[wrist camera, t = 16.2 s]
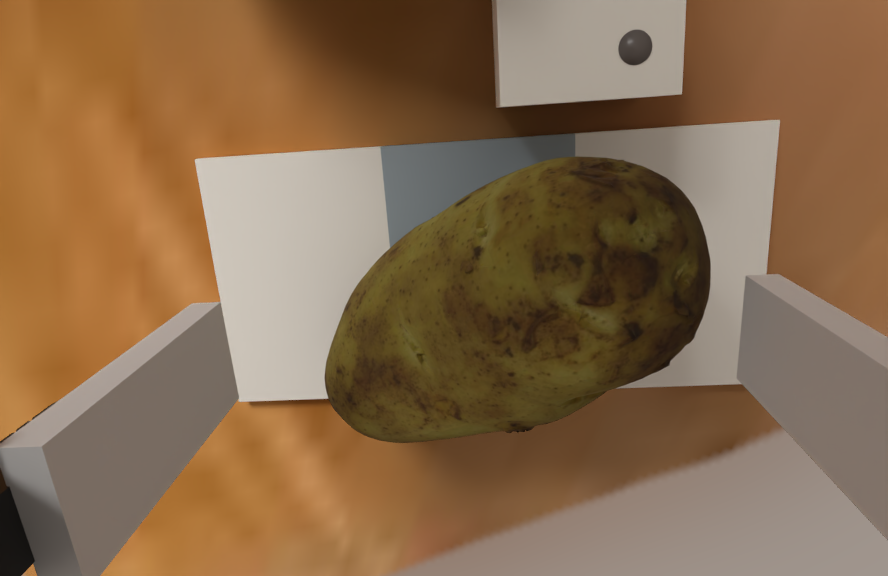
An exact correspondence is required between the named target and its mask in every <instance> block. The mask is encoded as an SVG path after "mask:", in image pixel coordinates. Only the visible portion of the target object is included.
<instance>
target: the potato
mask: <svg viewBox="0 0 888 576" xmlns="http://www.w3.org/2000/svg"><path fill="white" fill-rule="evenodd" d="M710 278H711V262H710V255H709V250H708V245H707V240H706V236H705V233H704V230H703V226H702V223H701V221H700V219H699V216H698V214H697V212H696V209H695V207H694V206H693V204H692V203H691V202H690V200H689V199H688V198H687V196H686V195H685V194H684V193H683V192H682V190H681V189H679V188H678V187H677V186H676V185H675V184H674V183H673V182H671V181H670V180H669V179H668V178H666V177H664V176H662V175H660V174H658V173H656V172H654V171H652V170H650V169H648V168H646V167H644V166H641V165H637V164H634V163H630V162H627V161H624V160H616V159H611V158H602V157H579V156H576V157H562V158H555V159H550V160H546V161H543V162H539V163H536V164H533V165H531V166H528V167H525V168H522V169H519V170H517V171H515V172H512V173H510V174H508V175H505V176H503V177H501V178H499V179H497V180H495V181H492V182H490V183H488V184H486V185H485V186H483V187H481V188H479V189H477V190H475V191H473V192H472V193H470V194H468V195H466V196H464V197H463V198H461V199H460V200H458V201H457V202H455V203H454V204H452V205H451V206H450V207H448V208H447V209H445V210H444V211H442V212H441V213H439V214H438V215H436V216H435V217H432V218H431V219H430V220H428V221H426V222H424V223H422V224H420V225H418V226H417V227H415V228H414V229H412V230H411V231H410V232H408V233H407V234H406V235H405V236H403V237H402V238H401V239H400V240H399V241H397V242H396V243H395V244H394V245H393V246H392V247H391V248H390V249H389V250H387V251H386V252H385V253H384V254H383V255H382V256H381V257H380V258H379V259H378V260H377V261H376V262H375V264H374V265H373V266H372V267H371V268H370V269H369V271H368V272H367V273H366V275H365V276H364V277H363V278H362V279H361V280H360V282H359V283H358V285H357V286H356V287H355V289H354V291H353V292H352V294H351V296H350V298H349V300H348V302H347V304H346V306H345V309H344V311H343V314H342V316H341V319H340V322H339V324H338V327H337V330H336V332H335V335H334V338H333V341H332V344H331V347H330V350H329V354H328V357H327V361H326V368H325V377H324V378H325V387H326V392H327V395H328V398H329V401H330V403H331V404H332V406H333V408H334V410H335V411H336V412H337V413H338V414H339V415H340V416H341V418H342V419H343V420H344V421H345V422H346V423H347V424H348V425H350V426H351V427H352V428H353V429H354V430H356V431H358V432H359V433H361V434H363V435H365V436H368V437H370V438H374V439H377V440H381V441H387V442H395V443H409V442H423V441H433V440H442V439H450V438H456V437H463V436H469V435H476V434H482V433H489V432H497V431H506V432H507V433H512V431H516V432H519V431H521V432H525V430H526V431H529V430H532V428H533V427H534V426H536V425H541V424H547V423H550V422H553V421H557V420H559V419H561V418H563V417H566V416H568V415H570V414H571V413H573V412H575V411H577V410H578V409H580V408H582V407H583V406H585V405H587V404H588V403H590V402H592V401H593V400H595V399H596V398H598V397H599V396H601V395H602V394H604V393H605V392H606V391H607V390H611V389H615V388H618V387H621V386H624V385H627V384H629V383H632V382H635V381H637V380H640V379H643V378H645V377H647V376H648V375H650V374H653V373H656V372H658V371H660V370H662V369H664V368H666V367H667V366H669V365H670V361H671V360H672V359H673V358H674V357H675V356H676V355H677V354H678V353H680V352H681V351H682V349H683V348H684V347H685V346H686V345H687V344H689V343H691V341H692V340H693V339H694V337H695V334H696V331H697V329H698V327H699V325H700V323H701V321H702V319H703V315H704V312H705V309H706V305H707V302H708V299H709V292H710Z"/></svg>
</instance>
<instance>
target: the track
mask: <svg viewBox="0 0 888 576" xmlns="http://www.w3.org/2000/svg"><path fill="white" fill-rule="evenodd" d="M779 126H780V120H764V121H749V122H734V123H719V124H704V125H689V126H674V127H659V128H644V129H630V130H615V131H600V132H585V133H570V134H555V135H540V136H525V137H510V138H496V139H481V140H466V141H451V142H436V143H421V144H406V145H391V146H376V147H361V148H347V149H332V150H317V151H302V152H287V153H272V154H257V155H242V156H227V157H212V158H199V159H195V164H196V169H197V175H198V180H199V186H200V191H201V197H202V202H203V208H204V213H205V219H206V224H207V230H208V235H209V241H210V246H211V252H212V257H213V262H214V268H215V273H216V279H217V284H218V290H219V295H220V301H221V306H222V312H223V317H224V322H225V327H226V333H227V338H228V343H229V348H230V353H231V358H232V364H233V369H234V374H235V379H236V384H237V389H238V394H239V402H248V401H277V400H305V399H329V398H328V395H327V392H326V387H325V378H324V377H325V368H326V361H327V357H328V354H329V350H330V347H331V344H332V341H333V338H334V335H335V332H336V330H337V327H338V324H339V322H340V319H341V316H342V314H343V311H344V309H345V306H346V304H347V302H348V300H349V298H350V296H351V294H352V292H353V291H354V289H355V287H356V286H357V285H358V283H359V282H360V280H361V279H362V278H363V277H364V276H365V275H366V273H367V272H368V271H369V269H370V268H371V267H372V266H373V265H374V264H375V262H376V261H377V260H378V259H379V258H380V257H381V256H382V255H383V254H384V253H385V252H386V251H387V250H389V249H390V248H391V247H392V246H393V245H394V244H395V243H396V242H397V241H399V240H400V239H401V238H402V237H403V236H405V235H406V234H407V233H408V232H410V231H411V230H412V229H414V228H415V227H417V226H418V225H420V224H422V223H424V222H426V221H428V220H430V219H431V218H432V217H435V216H436V215H438V214H439V213H441V212H442V211H444V210H445V209H447V208H448V207H450V206H451V205H452V204H454V203H455V202H457V201H458V200H460V199H461V198H463V197H464V196H466V195H468V194H470V193H472V192H473V191H475V190H477V189H479V188H481V187H483V186H485V185H486V184H488V183H490V182H492V181H495V180H497V179H499V178H501V177H503V176H505V175H508V174H510V173H512V172H515V171H517V170H519V169H522V168H525V167H528V166H531V165H533V164H536V163H539V162H543V161H546V160H550V159H555V158H562V157H576V156H579V157H602V158H611V159H616V160H624V161H627V162H630V163H634V164H637V165H641V166H644V167H646V168H648V169H650V170H652V171H654V172H656V173H658V174H660V175H662V176H664V177H666V178H668V179H669V180H670V181H671V182H673V183H674V184H675V185H676V186H677V187H678V188H679V189H681V190H682V192H683V193H684V194H685V195H686V196H687V198H688V199H689V200H690V202H691V203H692V204H693V206H694V207H695V209H696V212H697V214H698V216H699V219H700V221H701V223H702V226H703V230H704V233H705V236H706V240H707V245H708V250H709V255H710V262H711V278H710V292H709V299H708V302H707V305H706V309H705V312H704V315H703V319H702V321H701V323H700V325H699V327H698V329H697V331H696V334H695V337H694V339H693V340H692V341H691V343H689V344H687V345H686V346H685V347H684V348H683V349H682V351H681V352H680V353H678V354H677V355H676V356H675V357H674V358H673V359H672V360H671V361H670V365H669V366H667V367H666V368H664V369H662V370H660V371H658V372H656V373H653V374H650V375H648V376H647V377H645V378H643V379H640V380H637V381H635V382H632V383H629V384H627V385H624V386H621V387H618V388H645V387H673V386H702V385H730V384H741V383H740V381H739V380H738V379H737V367H738V356H739V345H740V333H741V322H742V311H743V300H744V289H745V277H746V275H765V274H766V273H767V262H768V251H769V239H770V228H771V217H772V205H773V194H774V183H775V172H776V160H777V149H778V138H779ZM615 389H617V388H615Z"/></svg>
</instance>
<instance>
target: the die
mask: <svg viewBox="0 0 888 576" xmlns="http://www.w3.org/2000/svg"><path fill="white" fill-rule="evenodd" d="M492 18H493V43H494V69H495V94H496V108H500V107H515V106H529V105H543V104H558V103H572V102H587V101H601V100H616V99H630V98H643V97H656V96H668V95H680V94H682V84H683V62H684V40H685V18H686V0H492Z"/></svg>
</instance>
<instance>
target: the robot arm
mask: <svg viewBox="0 0 888 576" xmlns="http://www.w3.org/2000/svg"><path fill="white" fill-rule="evenodd" d="M737 379H738V380H739V381H740V383H741V384H742V385H743V386H744V387H745V388H746V389H747V390H748V391H749V392H750V393H751V394H752V395H753V396H754V397H755V399H756V400H757V401H758V402H759V403H760V404H761V405H762V406H763V407H764V408H765V409H766V410H767V411H768V412H769V414H770V415H771V416H772V417H773V418H774V419H775V420H776V421H777V422H778V423H779V424H780V425H781V426H782V427H783V429H784V430H785V431H786V432H787V433H788V434H789V435H790V436H791V437H792V438H793V439H794V440H795V441H796V442H797V444H798V445H799V446H801V448H802V449H803V450H804V451H805V452H806V453H807V454H808V455H809V456H810V457H811V459H812V460H813V461H814V462H815V463H816V464H817V465H818V466H819V467H820V468H821V469H822V470H823V471H824V472H825V473H826V475H827V476H828V477H829V478H830V479H831V480H832V481H833V482H834V483H835V484H836V485H837V486H838V487H839V488H840V490H841V491H842V492H843V493H844V494H845V495H846V496H847V497H848V498H849V499H850V500H851V501H852V502H853V503H854V505H855V506H856V507H857V508H858V509H859V510H860V511H861V512H862V513H863V514H864V515H865V516H866V517H867V518H868V520H869V521H870V522H871V523H872V524H873V525H874V526H875V527H876V528H877V529H878V530H879V531H880V532H881V533H882V534H883V536H884V537H885V538H886V539H887V540H888V337H886V336H885V335H883V334H881V333H879V332H878V331H876V330H874V329H873V328H871V327H869V326H867V325H866V324H864V323H862V322H860V321H859V320H857V319H855V318H854V317H852V316H850V315H848V314H847V313H845V312H843V311H841V310H840V309H838V308H836V307H835V306H833V305H831V304H829V303H828V302H826V301H824V300H823V299H821V298H819V297H817V296H816V295H814V294H812V293H810V292H809V291H807V290H805V289H804V288H802V287H800V286H798V285H797V284H795V283H793V282H792V281H790V280H788V279H786V278H785V277H783V276H781V275H779V274H765V275H746V277H745V289H744V300H743V311H742V322H741V333H740V345H739V356H738V367H737ZM238 399H239V394H238V389H237V384H236V379H235V374H234V369H233V364H232V358H231V353H230V348H229V343H228V338H227V333H226V327H225V322H224V317H223V312H222V307H221V302H212V303H192V304H190V305H189V306H188V307H186V308H185V309H184V310H182V311H181V312H180V313H178V314H177V315H175V316H174V317H173V318H171V319H170V320H169V321H167V322H166V323H164V324H163V325H162V326H160V327H159V328H158V329H156V330H155V331H153V332H152V333H151V334H149V335H148V336H147V337H145V338H144V339H143V340H141V341H140V342H138V343H137V344H136V345H134V346H133V347H132V348H130V349H129V350H127V351H126V352H125V353H123V354H122V355H121V356H119V357H118V358H117V359H115V360H114V361H112V362H111V363H110V364H108V365H107V366H106V367H104V368H103V369H101V370H100V371H99V372H97V373H96V374H95V375H93V376H92V377H91V378H89V379H88V380H86V381H85V382H84V383H82V384H81V385H80V386H78V387H77V388H75V389H74V390H73V391H71V392H70V393H69V394H67V395H66V396H64V397H63V398H62V399H60V400H59V401H57V402H55V403H53V404H51V405H50V406H48V407H47V408H46V409H44V410H43V411H42V412H40V413H39V414H37V415H36V416H35V417H33V418H32V421H28V422H26V423H25V424H24V425H22V426H21V427H20V428H18V429H17V430H16V432H15V433H11V434H10V435H9V436H7V437H6V438H4V439H3V440H2V441H0V576H21V575H22V574H23V573H24V572H25V571H26V570H27V569H28V568H29V567H30V566H31V565H32V564H34V567H35V570H36V573H37V576H100V575H101V574H102V573H103V571H104V570H105V569H106V567H107V566H108V565H109V564H110V562H111V561H112V560H113V558H114V557H115V556H116V555H117V553H118V552H119V551H120V550H121V548H122V547H123V546H124V544H125V543H126V542H127V541H128V539H129V538H130V537H131V535H132V534H133V533H134V532H135V530H136V529H137V528H138V526H139V525H140V524H141V523H142V521H143V520H144V519H145V518H146V516H147V515H148V514H149V512H150V511H151V510H152V509H153V507H154V506H155V505H156V503H157V502H158V501H159V500H160V498H161V497H162V496H163V495H164V493H165V492H166V491H167V489H168V488H169V487H170V486H171V484H172V483H173V482H174V480H175V479H176V478H177V477H178V475H179V474H180V473H181V472H182V470H183V469H184V468H185V466H186V465H187V464H188V463H189V461H190V460H191V459H192V457H193V456H194V455H195V454H196V452H197V451H198V450H199V448H200V447H201V446H202V445H203V443H204V442H205V441H206V440H207V438H208V437H209V436H210V434H211V433H212V432H213V431H214V429H215V428H216V427H217V425H218V424H219V423H220V422H221V420H222V419H223V418H224V417H225V415H226V414H227V413H228V411H229V410H230V409H231V408H232V406H233V405H234V404H235V402H236V401H237V400H238Z"/></svg>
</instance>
